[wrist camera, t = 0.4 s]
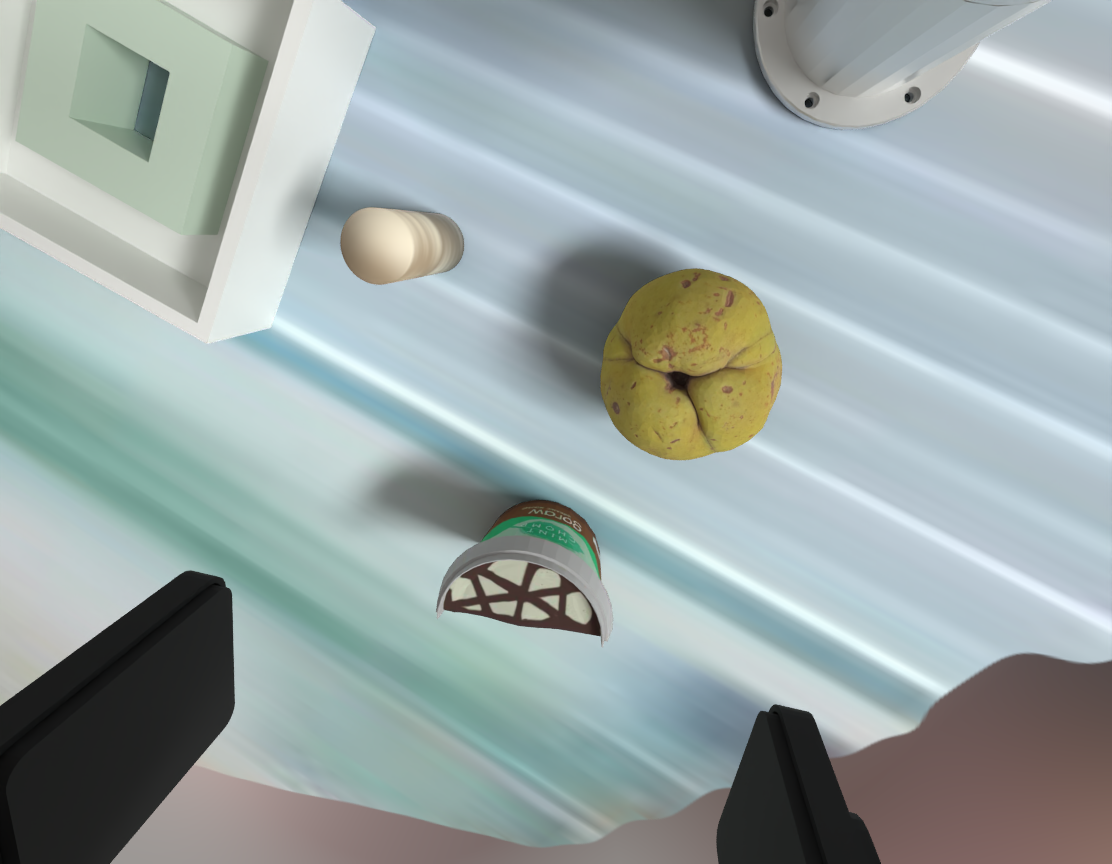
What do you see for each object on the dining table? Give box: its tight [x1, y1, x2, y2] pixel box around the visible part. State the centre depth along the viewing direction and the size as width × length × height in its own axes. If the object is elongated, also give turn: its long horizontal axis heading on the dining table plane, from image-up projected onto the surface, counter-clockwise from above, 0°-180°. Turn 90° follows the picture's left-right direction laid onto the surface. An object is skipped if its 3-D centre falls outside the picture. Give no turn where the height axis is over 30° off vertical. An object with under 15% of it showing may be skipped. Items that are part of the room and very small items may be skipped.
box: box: [0, 0, 376, 344], centre depth 37 cm, size 22×22×7 cm
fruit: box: [600, 269, 782, 460], centre depth 36 cm, size 11×12×10 cm
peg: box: [340, 207, 464, 285], centre depth 36 cm, size 4×4×10 cm
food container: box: [436, 500, 613, 647], centre depth 42 cm, size 12×6×10 cm, turn 85°
